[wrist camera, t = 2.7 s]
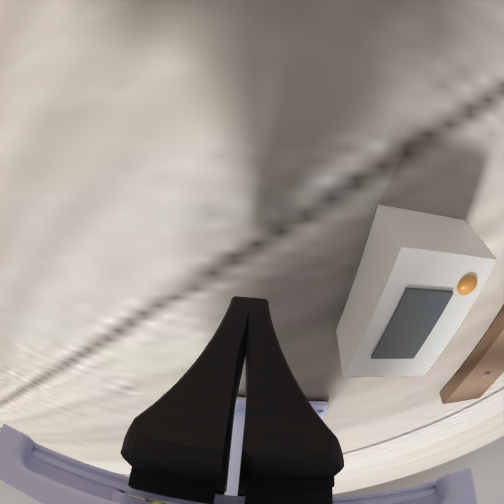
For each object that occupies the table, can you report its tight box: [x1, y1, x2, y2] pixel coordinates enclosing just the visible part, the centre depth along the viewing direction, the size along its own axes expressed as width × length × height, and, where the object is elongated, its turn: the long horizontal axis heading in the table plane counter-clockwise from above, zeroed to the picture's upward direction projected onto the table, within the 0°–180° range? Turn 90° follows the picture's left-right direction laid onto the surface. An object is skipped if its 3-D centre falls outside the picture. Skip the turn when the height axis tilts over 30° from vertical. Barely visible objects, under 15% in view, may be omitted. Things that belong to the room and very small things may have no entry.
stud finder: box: [336, 205, 497, 377], centre depth 14 cm, size 8×5×4 cm, turn 176°
